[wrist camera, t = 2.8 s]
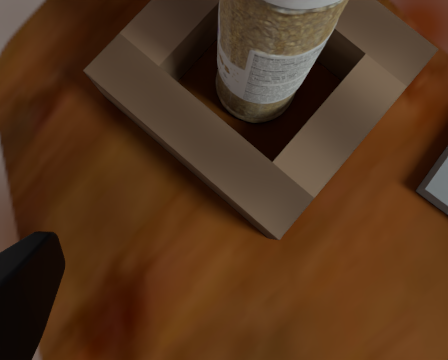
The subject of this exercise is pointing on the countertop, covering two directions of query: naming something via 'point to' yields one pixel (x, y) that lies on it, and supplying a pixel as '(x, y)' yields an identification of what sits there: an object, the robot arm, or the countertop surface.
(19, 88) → the countertop surface
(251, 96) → the sprinkles bottle
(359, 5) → the bottle holder
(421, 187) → the slate mat
